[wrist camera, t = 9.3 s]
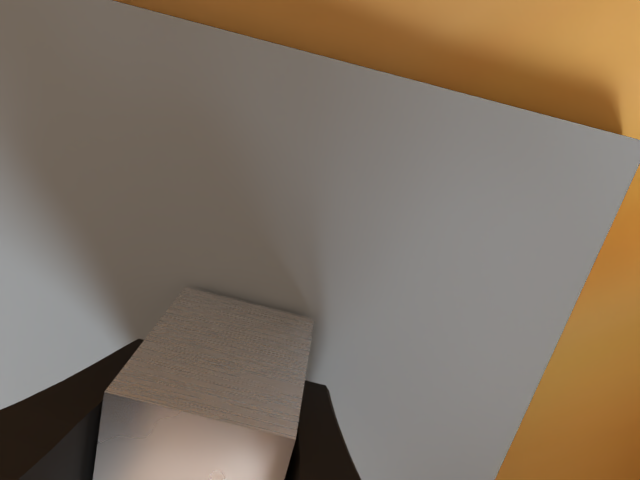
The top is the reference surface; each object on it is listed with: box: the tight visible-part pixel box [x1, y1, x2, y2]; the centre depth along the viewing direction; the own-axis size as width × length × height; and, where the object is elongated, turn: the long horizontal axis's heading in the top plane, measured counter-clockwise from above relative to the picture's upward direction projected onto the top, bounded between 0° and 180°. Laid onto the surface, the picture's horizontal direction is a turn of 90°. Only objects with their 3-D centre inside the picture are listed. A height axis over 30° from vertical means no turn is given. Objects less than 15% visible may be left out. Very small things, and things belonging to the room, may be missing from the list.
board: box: [0, 0, 640, 480], centre depth 14 cm, size 20×14×1 cm
